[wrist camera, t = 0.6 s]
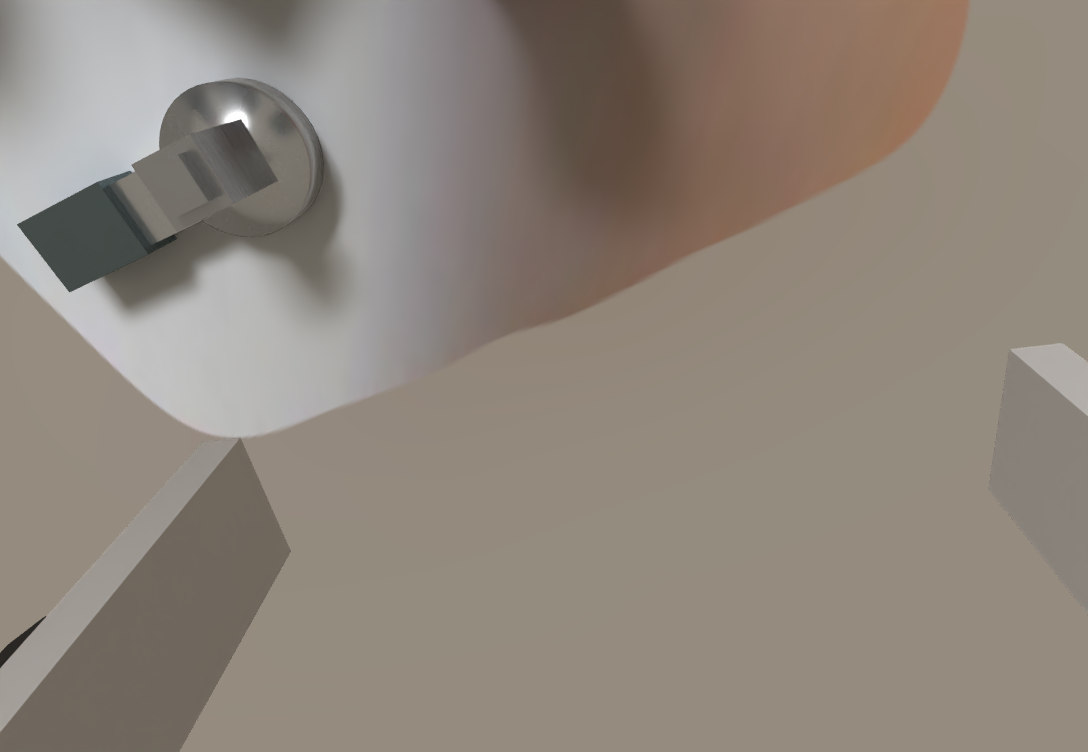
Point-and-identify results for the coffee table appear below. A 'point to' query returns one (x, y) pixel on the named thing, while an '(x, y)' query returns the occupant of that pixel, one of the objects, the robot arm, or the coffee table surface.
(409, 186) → the coffee table surface
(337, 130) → the coffee table surface
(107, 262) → the faucet
